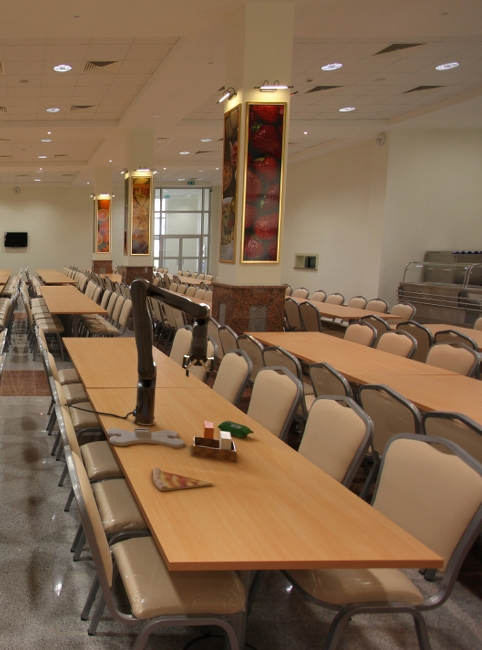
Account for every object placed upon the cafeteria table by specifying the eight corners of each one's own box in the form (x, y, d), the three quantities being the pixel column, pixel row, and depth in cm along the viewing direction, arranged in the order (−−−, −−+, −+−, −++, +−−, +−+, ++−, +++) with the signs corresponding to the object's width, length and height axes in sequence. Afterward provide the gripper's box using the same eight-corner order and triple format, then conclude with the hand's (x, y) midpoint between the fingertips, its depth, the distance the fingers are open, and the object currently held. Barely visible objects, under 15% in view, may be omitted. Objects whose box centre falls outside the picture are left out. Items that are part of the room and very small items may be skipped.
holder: (105, 431, 251) (106, 421, 250) (175, 433, 248) (176, 423, 248) (111, 446, 232) (111, 435, 231) (186, 449, 230) (187, 438, 229)
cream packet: (219, 457, 219) (221, 438, 218) (218, 450, 228) (220, 430, 227) (230, 459, 218) (231, 439, 217) (228, 451, 226) (229, 432, 225)
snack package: (246, 441, 240) (247, 430, 240) (215, 430, 253) (216, 420, 252) (254, 438, 244) (255, 427, 244) (223, 428, 257) (224, 418, 256)
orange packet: (203, 445, 234) (204, 427, 233) (203, 438, 242) (204, 420, 241) (212, 447, 232) (214, 428, 231) (212, 440, 241) (213, 422, 240)
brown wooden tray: (192, 456, 222) (193, 445, 221) (192, 446, 233) (193, 435, 232) (235, 462, 216) (236, 451, 215) (233, 451, 227) (233, 441, 227)
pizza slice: (204, 502, 182) (205, 497, 181) (143, 486, 193) (143, 481, 193) (212, 485, 195) (212, 480, 195) (154, 471, 206) (154, 466, 206)
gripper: (214, 345, 245) (212, 377, 247) (183, 342, 250) (181, 374, 252) (215, 347, 238) (213, 381, 240) (183, 345, 243) (181, 378, 245)
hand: (197, 377), depth 246 cm, fingers open, 8 cm apart
